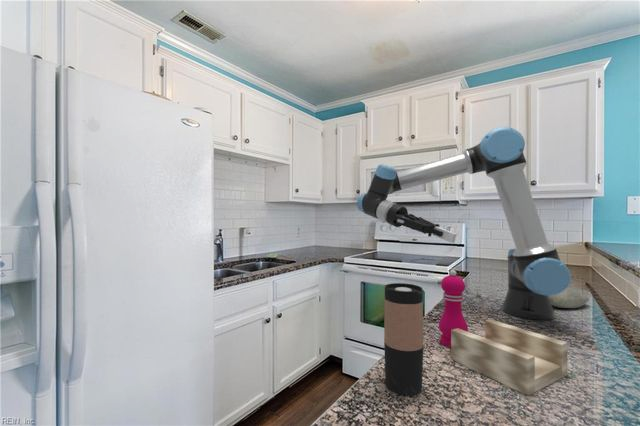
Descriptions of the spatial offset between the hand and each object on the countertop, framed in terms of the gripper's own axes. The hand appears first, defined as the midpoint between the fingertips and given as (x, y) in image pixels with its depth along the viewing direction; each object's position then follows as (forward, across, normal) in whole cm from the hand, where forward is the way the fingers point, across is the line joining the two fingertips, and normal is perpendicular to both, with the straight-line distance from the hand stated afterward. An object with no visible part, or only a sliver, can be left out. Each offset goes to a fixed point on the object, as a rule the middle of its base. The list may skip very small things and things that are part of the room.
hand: (454, 238), depth 88 cm
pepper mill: (+12, +6, -26) cm, 29 cm away
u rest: (+25, +9, -22) cm, 34 cm away
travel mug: (+16, +34, -25) cm, 45 cm away
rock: (+20, -62, -22) cm, 69 cm away
